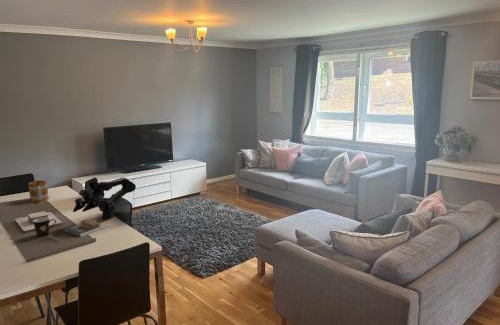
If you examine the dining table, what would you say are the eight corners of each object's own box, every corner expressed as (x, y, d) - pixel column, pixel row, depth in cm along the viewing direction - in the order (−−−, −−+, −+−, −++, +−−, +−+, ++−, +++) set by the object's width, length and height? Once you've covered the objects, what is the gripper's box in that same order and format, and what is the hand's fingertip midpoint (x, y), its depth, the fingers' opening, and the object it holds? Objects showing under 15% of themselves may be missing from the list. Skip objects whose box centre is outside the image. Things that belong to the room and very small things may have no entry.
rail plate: (95, 222, 250) (94, 217, 249) (111, 227, 240) (111, 221, 240) (65, 233, 233) (64, 226, 232) (82, 238, 223) (81, 232, 222)
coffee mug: (33, 238, 225) (31, 222, 223) (37, 233, 233) (35, 218, 231) (54, 236, 228) (52, 220, 226) (57, 231, 236) (55, 216, 234)
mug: (29, 199, 309) (27, 181, 306) (48, 196, 316) (46, 179, 313) (31, 205, 293) (28, 186, 290) (50, 202, 300) (48, 184, 297)
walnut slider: (87, 225, 243) (86, 219, 242) (100, 229, 235) (99, 223, 235) (81, 226, 240) (80, 221, 239) (94, 231, 232) (94, 225, 231)
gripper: (78, 186, 245) (61, 202, 233) (97, 185, 235) (80, 201, 224) (87, 199, 250) (71, 215, 238) (106, 198, 241) (90, 214, 229)
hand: (78, 211), depth 232 cm, fingers open, 9 cm apart
